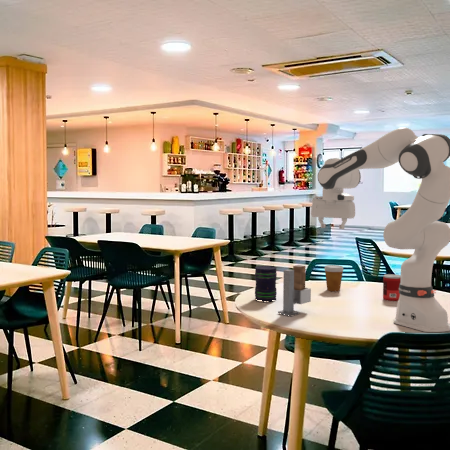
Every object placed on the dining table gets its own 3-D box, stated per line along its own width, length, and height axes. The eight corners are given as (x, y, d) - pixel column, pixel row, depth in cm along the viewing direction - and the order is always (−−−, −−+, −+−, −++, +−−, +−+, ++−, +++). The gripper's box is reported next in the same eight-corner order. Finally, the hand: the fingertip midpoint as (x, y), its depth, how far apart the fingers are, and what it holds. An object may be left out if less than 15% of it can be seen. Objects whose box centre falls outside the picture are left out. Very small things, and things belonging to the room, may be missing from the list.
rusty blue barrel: (258, 302, 231) (258, 269, 230) (252, 298, 241) (252, 266, 239) (279, 301, 233) (279, 268, 232) (272, 297, 243) (272, 265, 242)
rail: (298, 297, 218) (298, 264, 217) (305, 299, 216) (305, 265, 214) (292, 299, 216) (293, 265, 214) (299, 300, 213) (300, 266, 212)
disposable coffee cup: (345, 289, 260) (346, 265, 259) (339, 292, 252) (340, 268, 251) (327, 287, 265) (328, 264, 264) (321, 290, 257) (321, 266, 256)
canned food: (404, 299, 237) (405, 276, 236) (392, 301, 233) (393, 277, 232) (391, 296, 244) (391, 273, 243) (379, 298, 240) (379, 275, 239)
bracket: (296, 308, 221) (297, 266, 220) (310, 311, 216) (311, 268, 215) (277, 313, 211) (277, 270, 210) (290, 316, 206) (291, 272, 205)
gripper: (308, 196, 229) (308, 227, 229) (349, 196, 214) (349, 229, 215) (316, 196, 233) (316, 226, 234) (357, 196, 219) (356, 229, 220)
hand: (332, 228), depth 224 cm, fingers open, 8 cm apart
